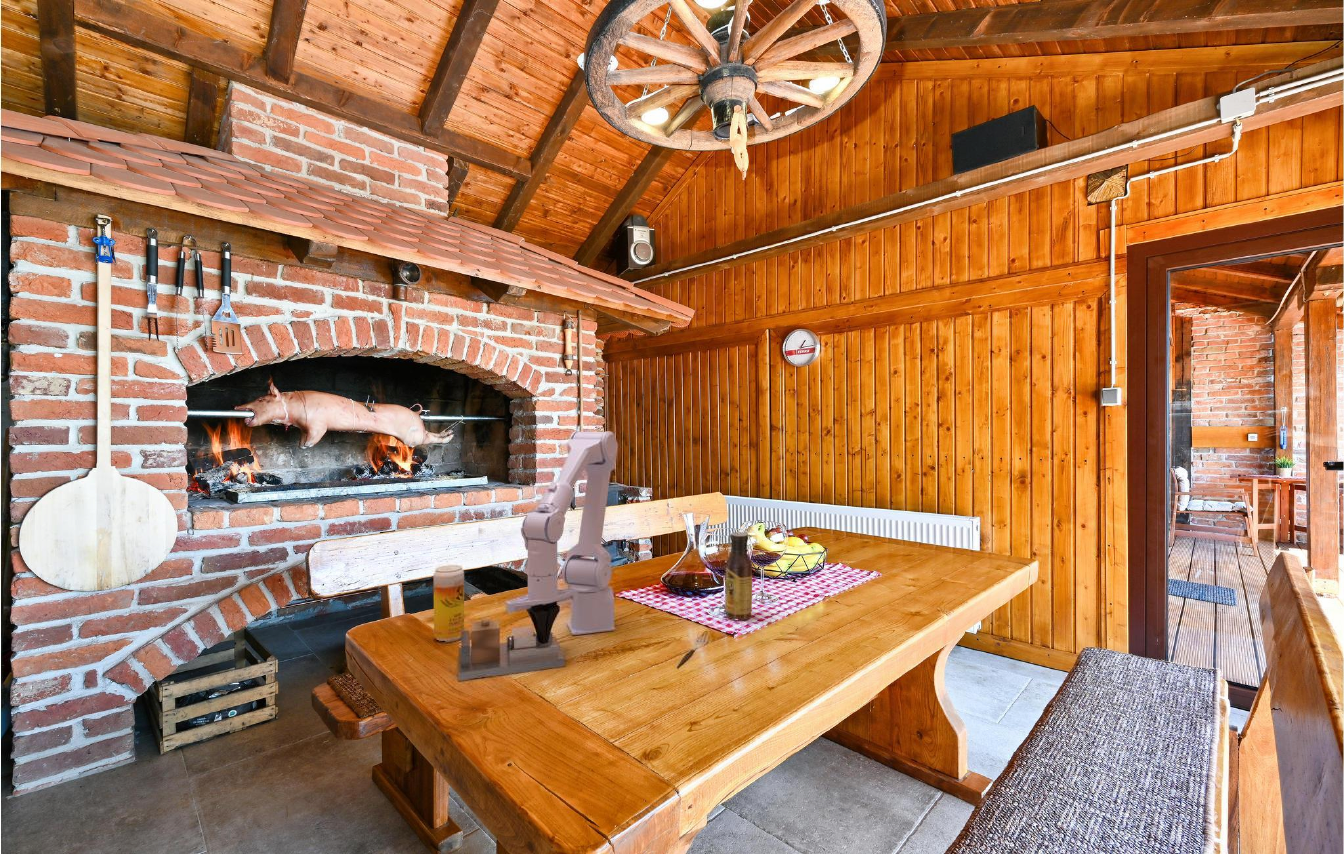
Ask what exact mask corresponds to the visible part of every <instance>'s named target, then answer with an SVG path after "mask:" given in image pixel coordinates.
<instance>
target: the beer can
mask: <svg viewBox="0 0 1344 854" xmlns="http://www.w3.org/2000/svg"><path fill="white" fill-rule="evenodd" d="M461 631H465V571H464V570H463V566H462V565H458V564H447V565H442V566H438V567H436V568H435V571H434V572H433V637H434V638H435V640H439V641H445V642H444V643H451V642H455V641H458V640H461ZM439 641H438V642H439Z"/></svg>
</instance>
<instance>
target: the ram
mask: <svg viewBox="0 0 1344 854" xmlns="http://www.w3.org/2000/svg"><path fill="white" fill-rule="evenodd" d="M535 633H536V631H535V628H534V625H529V626H521V627H512V628H511V636H509V635H508V636H506V643H507V647H508V650H510V649H513V650H520V649H528V648H536V635H535Z"/></svg>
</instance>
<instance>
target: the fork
mask: <svg viewBox="0 0 1344 854" xmlns="http://www.w3.org/2000/svg"><path fill="white" fill-rule="evenodd" d="M706 634H707V636H706ZM709 634H710V632H708V633H706V631H705V632H704V634H703V633H701V634H700V631H698V633H697V634H696V635H697V636H696V638H695V640H694V644H697V645H701V644H706V645H707V642H708V639H709ZM699 635H700V636H699ZM702 635H703V637H702ZM705 636H706V638H705ZM697 648H698V649H700V647H699V646H693V649H691V650H690V651H688V652H687V653H686V654H684V656H683V658H682V659H681V661H679V663H678V665H677V667H676V668H677V669H679V668H680V667H681V666H683V665H684V664H685V663H686V662H687V661H689V660H690V659H691V657H692V656H693V654H694V653H695V651H696V650H697ZM689 658H690V659H689Z"/></svg>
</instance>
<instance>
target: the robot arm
mask: <svg viewBox="0 0 1344 854" xmlns="http://www.w3.org/2000/svg"><path fill="white" fill-rule="evenodd" d="M566 443H567V444H566V445H567V446H566V447H567V449H566V450H567V454H568V455H567V456H566V459H565V462H564V463H563V467H562V469H561V471H560V473H559V476H558V478H557V480H556V481H553V482H551V483H549V485H548V486H547V487H546V490H545V491H544V493H543V495H542V497H541V498H540V501H539V503H538V504H537V506H536V507H535V510H534V511H531V512H529V513H528V514H527V515H526V516H525V517H524V519H523V521H522V526H521V528H520V534H521V537H522V538H523V541H524V548H525V550H526V551H527V594H525V595H522V596H519V597H517V598H514V599H511V600H505V612H507V613H508V614H510V615H511V614H515V612H519V611H523V610H525V611H526V612H527V614H528V616H529V618H530V619H531V621H532V625H533V628H534V632H535V633H536V634H537V639H538V642H540V643H541V644H545V643H548V641H549V636H550V632H551V631H552V628H553V625H554V623H555V621H556V619H557V617H558V615H559V613H560V610H561V607H560V605H558V603H561V602H566V601H570V620H568V621H566V625H567V628H568V630H569V632H570V633H571V635H572V636H578V635H585V634H586V635H587V634H593V633H594V634H595V633H601V632H602V633H603V632H610V631H616V627H615V596H614V591H613V590H614V589H613V588H612V586H611V585H610V586H609V584H610V582H611V578H612V555H611V554H610V552H608V550H606V548H605V547H603V545H602V539H603V533H604V526H605V524H604V523H605V518H606V517H605V515H606V508H607V501H608V493H609V486H610V479H611V472H612V471H613V470H615V469H616V463H617V456H618V449H619V443H618V442H617V438H616V436H615V434H614V433H613V431H610V430H609V431H608V430H607V431H579V430H575V431H573V432H572V433H571V434H570V436H569V439H568V440H567V442H566ZM584 471H585V472H586V474H587V478H586V486H585V491H584V492H585V494H584V501H583V508H582V514H581V520H580V521H581V522H580V528H579V535H578V542H577V543H576V544H575V545H574V546H572V547H570V548H569V550H568V551H567V554H566V558H565V561H564V563H563V565H562V570H561V575H562V581H563V582H564V583H565V584H566V586H567V588H564V589H563V588H561V589H559V588H558V585H559V584H558V579H559V578H558V542H559V540H560V539H561V537H562V536H563V534H564V529H565V528H564V527H565V522H566V517H565V516H566V513H567V512H568V510H569V507H570V506H571V504H572V502H573V500H574V498H575V492H574V490H573V488H574V486H575V485H576V483H577V481H578V480H579V478H580V477H581V475H582V474H583V472H584ZM585 557H589V558H585ZM590 557H592V558H590Z"/></svg>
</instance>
